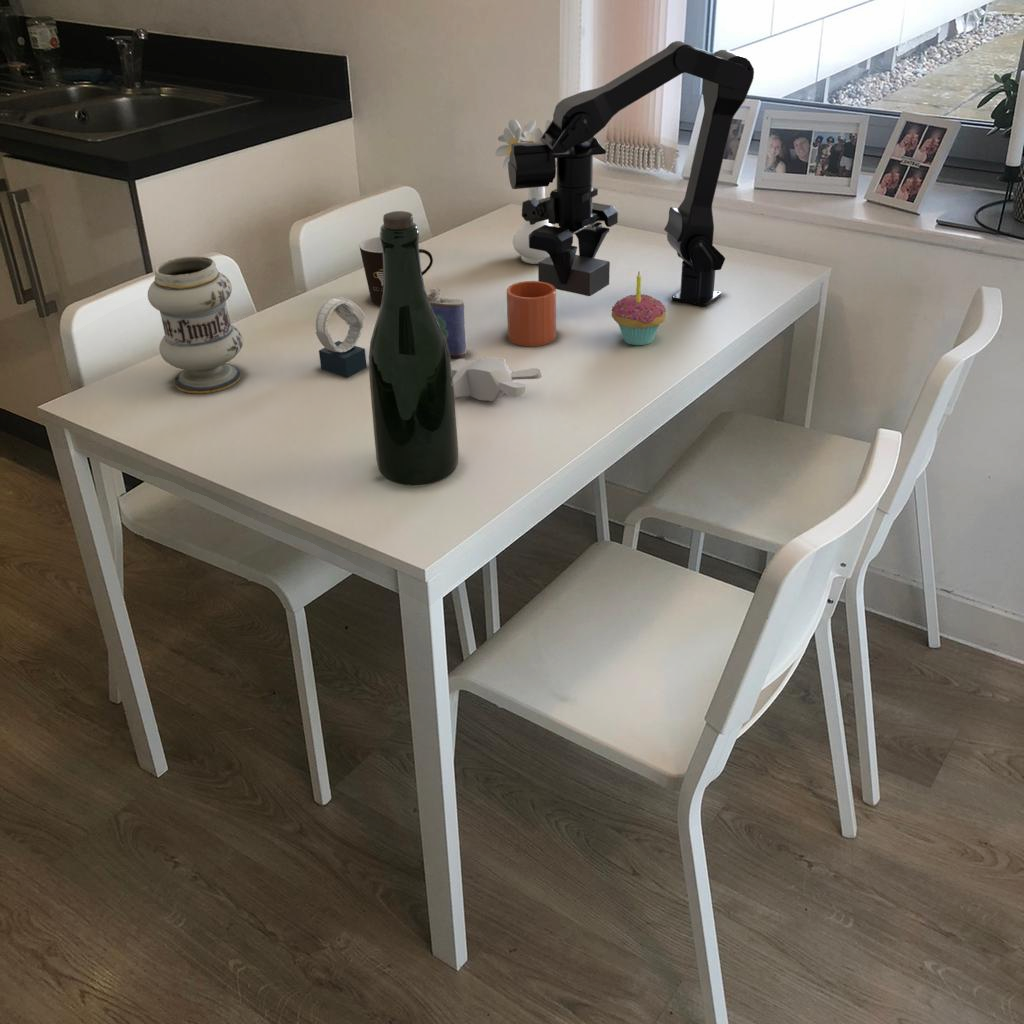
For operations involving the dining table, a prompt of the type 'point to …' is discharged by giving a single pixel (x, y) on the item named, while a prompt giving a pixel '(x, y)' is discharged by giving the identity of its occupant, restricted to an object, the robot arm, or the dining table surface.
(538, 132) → the flower vase
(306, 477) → the dining table surface
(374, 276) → the coffee mug
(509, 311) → the terracotta cup
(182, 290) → the apothecary jar
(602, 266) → the black bar
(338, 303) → the watch
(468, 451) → the dining table surface
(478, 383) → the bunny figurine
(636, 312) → the cupcake
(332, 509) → the dining table surface
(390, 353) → the green wine bottle
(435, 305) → the flask
